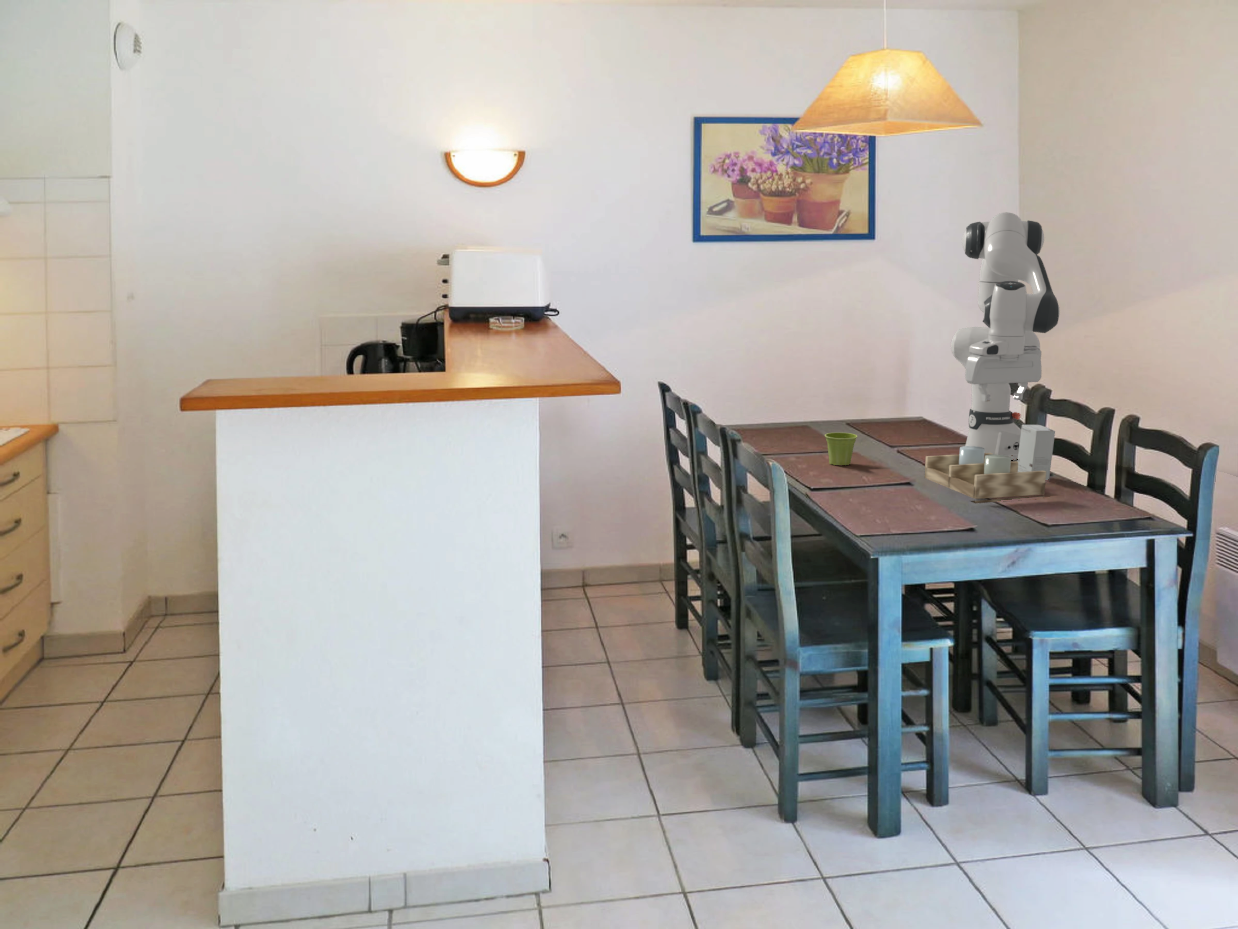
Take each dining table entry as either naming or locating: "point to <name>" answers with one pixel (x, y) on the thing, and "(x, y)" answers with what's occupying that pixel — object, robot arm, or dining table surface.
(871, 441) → the dining table surface
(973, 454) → the pale blue-grey rounded dome
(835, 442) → the plant pot
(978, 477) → the rack
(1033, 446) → the skincare box
